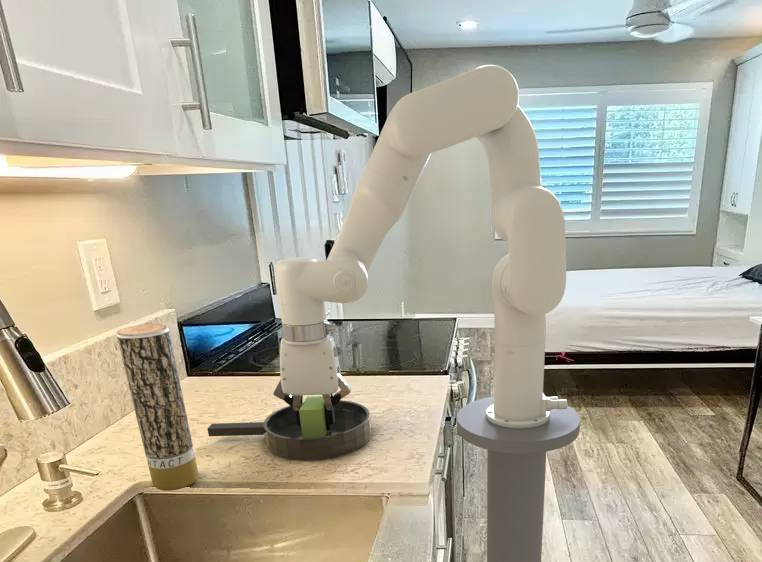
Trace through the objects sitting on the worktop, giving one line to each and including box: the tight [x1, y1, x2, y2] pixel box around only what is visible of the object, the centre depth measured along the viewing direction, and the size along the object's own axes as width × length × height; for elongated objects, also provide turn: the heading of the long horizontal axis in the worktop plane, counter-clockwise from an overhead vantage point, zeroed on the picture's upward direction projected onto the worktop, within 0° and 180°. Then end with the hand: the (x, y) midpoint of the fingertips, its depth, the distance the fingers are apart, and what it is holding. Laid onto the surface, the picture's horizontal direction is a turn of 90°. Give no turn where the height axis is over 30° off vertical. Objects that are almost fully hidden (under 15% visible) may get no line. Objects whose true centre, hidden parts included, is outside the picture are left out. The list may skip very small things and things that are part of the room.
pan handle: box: [207, 421, 265, 437], centre depth 106 cm, size 10×2×2 cm, turn 91°
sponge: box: [299, 395, 328, 438], centre depth 105 cm, size 4×7×6 cm, turn 2°
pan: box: [263, 399, 373, 461], centre depth 106 cm, size 19×19×4 cm
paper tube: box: [116, 323, 199, 492], centre depth 87 cm, size 7×7×25 cm
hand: (316, 427), depth 106 cm, fingers closed on sponge, 4 cm apart
